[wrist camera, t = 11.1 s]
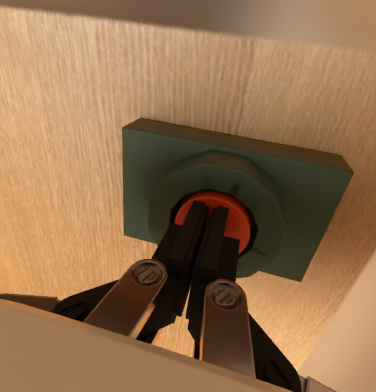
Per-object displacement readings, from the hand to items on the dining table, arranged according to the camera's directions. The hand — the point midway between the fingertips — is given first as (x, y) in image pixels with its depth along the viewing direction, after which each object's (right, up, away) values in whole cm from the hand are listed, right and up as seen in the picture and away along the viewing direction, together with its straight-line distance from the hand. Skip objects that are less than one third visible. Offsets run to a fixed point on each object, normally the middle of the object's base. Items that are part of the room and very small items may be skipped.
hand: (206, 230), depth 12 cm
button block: (+1, +2, +4) cm, 4 cm away
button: (+1, +1, +1) cm, 2 cm away
